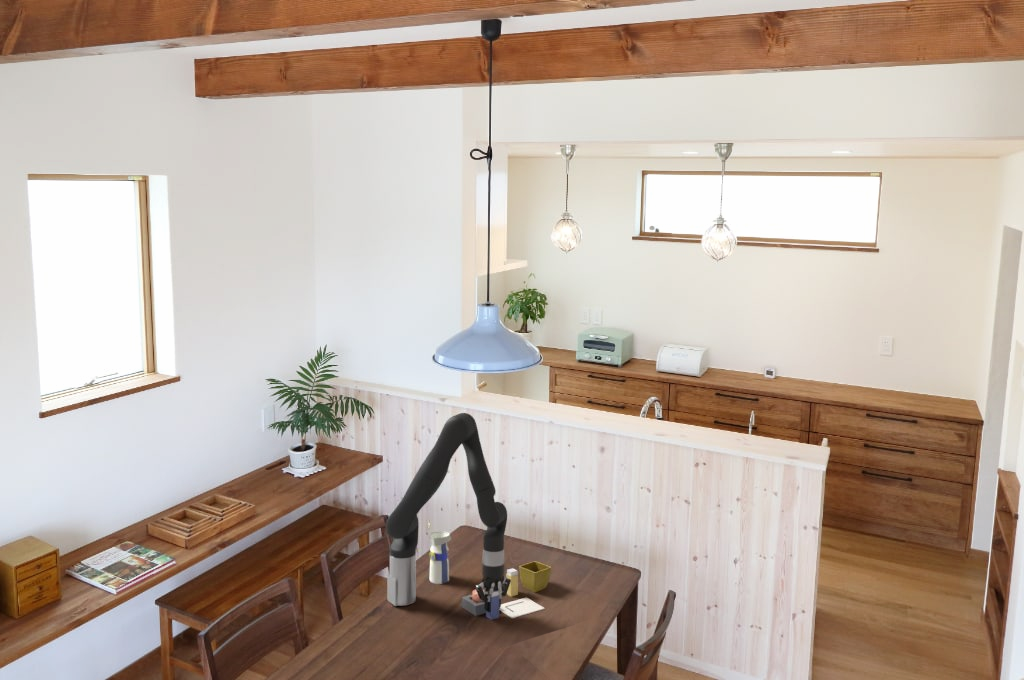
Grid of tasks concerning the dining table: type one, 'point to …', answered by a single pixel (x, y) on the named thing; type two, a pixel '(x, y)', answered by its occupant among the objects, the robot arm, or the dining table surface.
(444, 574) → the water bottle
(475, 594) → the button
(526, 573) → the flower pot
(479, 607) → the button housing
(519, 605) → the paper pad
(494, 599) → the block
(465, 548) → the dining table surface
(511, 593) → the ochre marker
